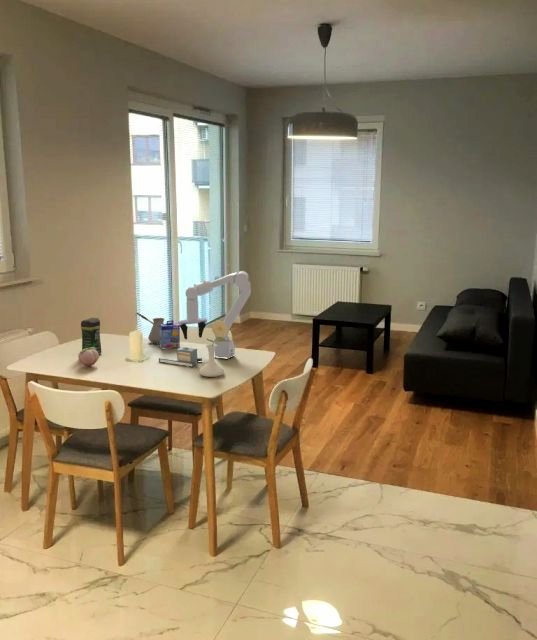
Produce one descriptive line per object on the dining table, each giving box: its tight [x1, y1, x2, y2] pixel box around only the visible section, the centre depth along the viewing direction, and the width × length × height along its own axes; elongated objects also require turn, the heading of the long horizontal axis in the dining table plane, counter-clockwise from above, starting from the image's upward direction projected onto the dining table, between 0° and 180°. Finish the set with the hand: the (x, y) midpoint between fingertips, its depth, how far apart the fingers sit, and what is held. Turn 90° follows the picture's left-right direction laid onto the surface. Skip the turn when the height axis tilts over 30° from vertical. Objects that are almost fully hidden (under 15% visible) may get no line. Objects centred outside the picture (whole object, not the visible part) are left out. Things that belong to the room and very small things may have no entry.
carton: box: [176, 346, 198, 364], centre depth 292 cm, size 5×8×7 cm, turn 64°
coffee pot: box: [134, 312, 166, 344], centre depth 333 cm, size 21×12×15 cm, turn 61°
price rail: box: [158, 356, 203, 368], centre depth 294 cm, size 20×10×2 cm, turn 64°
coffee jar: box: [80, 317, 102, 355], centre depth 304 cm, size 10×8×19 cm
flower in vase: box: [198, 319, 228, 378], centre depth 272 cm, size 13×11×25 cm
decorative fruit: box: [77, 347, 100, 368], centre depth 284 cm, size 9×8×10 cm
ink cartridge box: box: [159, 320, 181, 349], centre depth 321 cm, size 10×6×14 cm, turn 115°
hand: (193, 338), depth 303 cm, fingers open, 7 cm apart
